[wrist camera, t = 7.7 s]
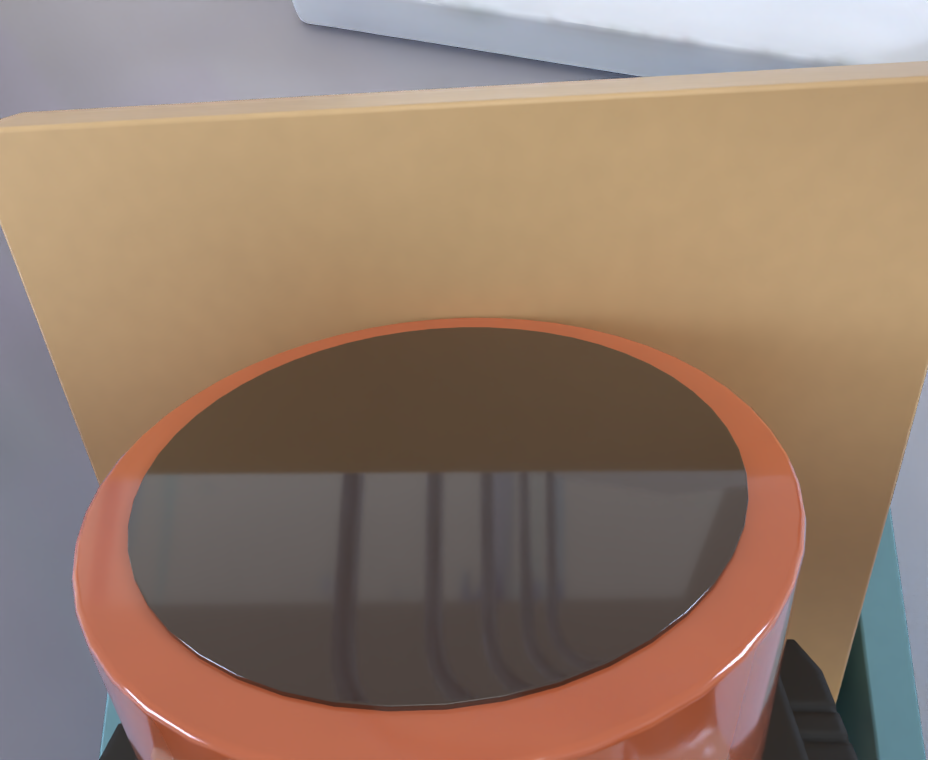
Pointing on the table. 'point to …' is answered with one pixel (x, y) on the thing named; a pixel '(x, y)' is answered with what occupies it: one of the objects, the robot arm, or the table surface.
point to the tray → (849, 672)
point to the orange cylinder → (447, 555)
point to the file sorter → (651, 31)
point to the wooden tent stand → (512, 253)
